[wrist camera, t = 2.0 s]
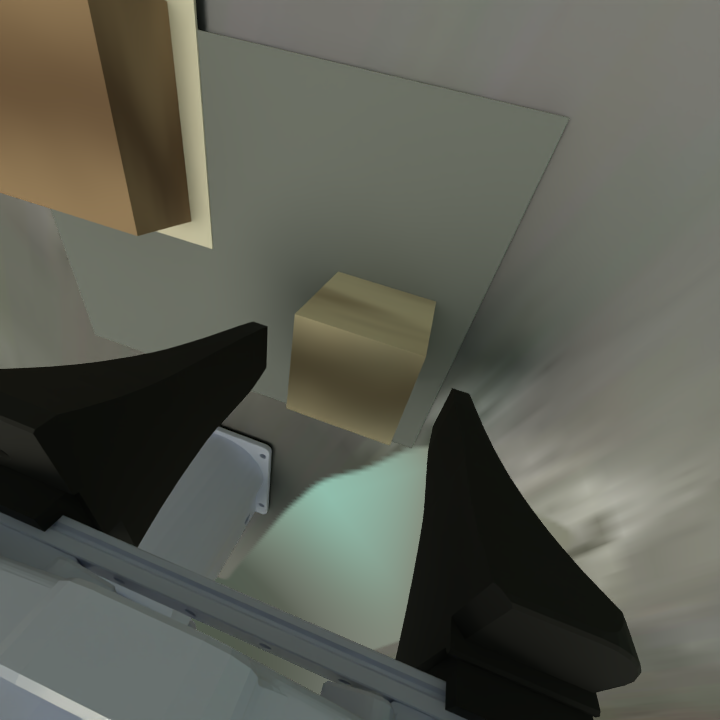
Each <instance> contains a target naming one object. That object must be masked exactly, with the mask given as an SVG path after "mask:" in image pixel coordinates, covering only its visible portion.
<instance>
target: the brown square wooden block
mask: <svg viewBox="0 0 720 720" xmlns="http://www.w3.org/2000/svg"><path fill="white" fill-rule="evenodd" d="M0 193H3V194H6V195H10V196H13V197H16V198H19V199H22V200H25V201H28V202H32V203H35V204H38V205H41V206H44V207H47V208H51V209H54V210H57V211H60V212H63V213H66V214H69V215H73V216H76V217H79V218H82V219H85V220H88V221H92V222H95V223H98V224H101V225H104V226H107V227H110V228H114V229H117V230H120V231H123V232H126V233H129V234H133V235H136V236H140V235H144V234H147V233H151V232H155V231H158V230H162V229H166V228H169V227H173V226H177V225H181V224H184V223H188V222H191V213H190V204H189V195H188V186H187V177H186V168H185V159H184V150H183V141H182V132H181V123H180V113H179V104H178V95H177V86H176V77H175V68H174V59H173V50H172V41H171V32H170V23H169V14H168V5H167V1H165V0H0Z"/></svg>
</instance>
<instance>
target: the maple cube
mask: <svg viewBox="0 0 720 720" xmlns="http://www.w3.org/2000/svg"><path fill="white" fill-rule="evenodd" d="M435 305H436V301H432V300H429V299H426V298H423V297H419V296H416V295H413V294H410V293H406V292H403V291H400V290H397V289H393V288H390V287H387V286H384V285H380V284H377V283H374V282H371V281H367V280H364V279H361V278H358V277H354V276H351V275H348V274H345V273H341V272H337V273H336V274H335V275H334V276H333V277H332V278H331V279H330V280H329V281H328V282H327V283H326V284H325V285H324V286H323V287H322V288H321V289H320V290H319V291H318V292H317V293H316V294H315V295H314V296H313V297H312V298H311V299H310V300H309V301H308V302H307V303H306V304H305V305H304V306H302V307H301V308H300V309H299V310H298V311H297V312H296V313H295V317H294V328H293V339H292V350H291V361H290V373H289V384H288V395H287V406H286V408H287V409H290V410H293V411H295V412H298V413H301V414H304V415H306V416H309V417H312V418H315V419H318V420H320V421H323V422H326V423H329V424H331V425H334V426H337V427H340V428H343V429H345V430H348V431H351V432H354V433H356V434H359V435H362V436H365V437H368V438H370V439H373V440H376V441H379V442H381V443H384V444H387V445H390V444H391V441H392V439H393V436H394V434H395V431H396V429H397V426H398V424H399V422H400V419H401V417H402V414H403V412H404V409H405V407H406V404H407V402H408V400H409V397H410V395H411V392H412V390H413V387H414V385H415V382H416V380H417V378H418V375H419V373H420V370H421V368H422V365H423V363H424V360H425V358H426V354H427V348H428V343H429V338H430V332H431V327H432V321H433V316H434V311H435Z"/></svg>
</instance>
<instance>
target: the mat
mask: <svg viewBox="0 0 720 720" xmlns="http://www.w3.org/2000/svg"><path fill="white" fill-rule="evenodd" d="M165 1H167V5H168V14H169V23H170V32H171V41H172V50H173V59H174V68H175V77H176V86H177V95H178V104H179V113H180V123H181V132H182V141H183V150H184V159H185V168H186V177H187V186H188V195H189V204H190V213H191V222H188V223H184V224H181V225H177V226H173V227H169V228H166V229H162V230H158V231H155V232H151V233H147V234H144V235H140V236H136V235H133V234H129V233H126V232H123V231H120V230H117V229H114V228H110V227H107V226H104V225H101V224H98V223H95V222H92V221H88V220H85V219H82V218H79V217H76V216H73V215H69V214H66V213H63V212H60V211H57V210H54V209H51V208H50V209H51V212H52V215H53V218H54V221H55V223H56V226H57V229H58V232H59V235H60V238H61V240H62V243H63V246H64V249H65V252H66V255H67V257H68V260H69V263H70V266H71V269H72V271H73V274H74V277H75V280H76V283H77V286H78V288H79V291H80V294H81V297H82V300H83V302H84V305H85V308H86V311H87V314H88V317H89V319H90V322H91V325H92V328H93V331H94V333H95V335H97V336H99V337H102V338H105V339H108V340H111V341H113V342H116V343H119V344H122V345H125V346H127V347H130V348H133V349H136V350H139V351H141V352H144V353H151V352H156V351H160V350H164V349H168V348H172V347H175V346H179V345H182V344H185V343H189V342H192V341H195V340H199V339H202V338H205V337H208V336H211V335H214V334H217V333H220V332H222V331H225V330H228V329H231V328H234V327H237V326H240V325H243V324H246V323H249V322H256V323H259V324H262V325H265V326H268V334H267V368H266V369H265V371H264V372H263V374H262V376H261V377H260V379H259V380H258V382H257V383H256V384H255V386H254V387H253V389H252V390H251V391H253V392H256V393H259V394H261V395H264V396H267V397H270V398H272V399H275V400H278V401H281V402H284V403H286V404H287V395H288V384H289V373H290V361H291V350H292V339H293V328H294V317H295V313H296V312H297V311H298V310H299V309H300V308H301V307H302V306H304V305H305V304H306V303H307V302H308V301H309V300H310V299H311V298H312V297H313V296H314V295H315V294H316V293H317V292H318V291H319V290H320V289H321V288H322V287H323V286H324V285H325V284H326V283H327V282H328V281H329V280H330V279H331V278H332V277H333V276H334V275H335V274H336V273H337V272H341V273H345V274H348V275H351V276H354V277H358V278H361V279H364V280H367V281H371V282H374V283H377V284H380V285H384V286H387V287H390V288H393V289H397V290H400V291H403V292H406V293H410V294H413V295H416V296H419V297H423V298H426V299H429V300H432V301H436V305H435V311H434V316H433V321H432V327H431V332H430V338H429V343H428V348H427V354H426V358H425V360H424V363H423V365H422V368H421V370H420V373H419V375H418V378H417V380H416V382H415V385H414V387H413V390H412V392H411V395H410V397H409V400H408V402H407V404H406V407H405V409H404V412H403V414H402V417H401V419H400V422H399V424H398V426H397V429H396V431H395V434H394V436H393V439H392V442H395V443H398V444H401V445H404V446H406V447H409V448H412V447H413V445H414V442H415V440H416V438H417V436H418V434H419V432H420V430H421V428H422V426H423V424H424V422H425V419H426V417H427V415H428V413H429V411H430V409H431V407H432V405H433V403H434V401H435V399H436V397H437V394H438V392H439V390H440V388H441V386H442V384H443V382H444V380H445V378H446V376H447V374H448V371H449V369H450V367H451V365H452V363H453V361H454V359H455V357H456V355H457V353H458V351H459V348H460V346H461V344H462V342H463V340H464V338H465V336H466V334H467V332H468V330H469V328H470V325H471V323H472V321H473V319H474V317H475V315H476V313H477V311H478V309H479V307H480V305H481V302H482V300H483V298H484V296H485V294H486V292H487V290H488V288H489V286H490V284H491V282H492V279H493V277H494V275H495V273H496V271H497V269H498V267H499V265H500V263H501V261H502V259H503V256H504V254H505V252H506V250H507V248H508V246H509V244H510V242H511V240H512V238H513V236H514V234H515V231H516V229H517V227H518V225H519V223H520V221H521V219H522V217H523V215H524V213H525V211H526V208H527V206H528V204H529V202H530V200H531V198H532V196H533V194H534V192H535V190H536V188H537V185H538V183H539V181H540V179H541V177H542V175H543V173H544V171H545V169H546V167H547V165H548V162H549V160H550V158H551V156H552V154H553V152H554V150H555V148H556V146H557V144H558V142H559V139H560V137H561V135H562V133H563V131H564V129H565V127H566V125H567V123H568V121H569V119H570V118H568V117H564V116H560V115H555V114H551V113H547V112H543V111H538V110H534V109H530V108H526V107H522V106H517V105H513V104H509V103H505V102H500V101H496V100H492V99H488V98H484V97H479V96H475V95H471V94H467V93H462V92H458V91H454V90H450V89H446V88H441V87H437V86H433V85H429V84H424V83H420V82H416V81H412V80H408V79H403V78H399V77H395V76H391V75H387V74H382V73H378V72H374V71H370V70H365V69H361V68H357V67H353V66H349V65H344V64H340V63H336V62H332V61H327V60H323V59H319V58H315V57H311V56H306V55H302V54H298V53H294V52H289V51H285V50H281V49H277V48H273V47H268V46H264V45H260V44H256V43H252V42H247V41H243V40H239V39H235V38H230V37H226V36H222V35H218V34H214V33H209V32H205V31H201V30H198V27H197V13H196V0H165Z"/></svg>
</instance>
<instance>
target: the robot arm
mask: <svg viewBox="0 0 720 720" xmlns="http://www.w3.org/2000/svg"><path fill="white" fill-rule="evenodd" d="M267 334H268V326H265V325H262V324H259V323H256V322H249V323H246V324H243V325H240V326H237V327H234V328H231V329H228V330H225V331H222V332H220V333H217V334H214V335H211V336H208V337H205V338H202V339H199V340H195V341H192V342H189V343H185V344H182V345H179V346H175V347H172V348H168V349H164V350H160V351H156V352H151V353H147V354H142V355H137V356H132V357H126V358H120V359H114V360H107V361H101V362H94V363H85V364H76V365H65V366H53V367H36V368H14V369H0V720H593V716H594V717H600V707H599V703H598V699H597V695H596V692H600V691H604V690H608V689H612V688H616V687H620V686H624V685H627V684H629V683H632V682H634V681H635V680H636V678H637V677H638V676H639V675H640V673H641V665H640V662H639V659H638V656H637V653H636V650H635V647H634V644H633V641H632V638H631V635H630V632H629V629H628V626H627V623H626V621H625V618H624V616H623V613H622V612H621V610H620V609H619V608H618V607H617V606H616V605H615V604H614V603H613V602H612V601H611V600H610V599H609V598H608V597H607V596H606V595H605V594H604V593H603V592H602V591H601V590H600V589H599V588H598V586H597V585H596V584H595V583H594V582H593V581H592V580H591V579H590V578H589V577H588V576H587V575H586V574H585V573H584V572H583V571H582V570H581V569H580V567H579V566H578V565H577V564H576V563H575V562H574V561H573V559H572V558H571V557H570V556H569V555H568V554H567V552H566V551H565V550H564V549H563V548H562V547H561V546H560V545H559V543H558V542H557V541H556V540H555V538H554V537H553V536H552V535H551V533H550V532H549V531H548V530H547V528H546V527H545V526H544V525H543V523H542V522H541V521H540V519H539V518H538V517H537V515H536V514H535V513H534V511H533V510H532V509H531V507H530V506H529V505H528V503H527V502H526V500H525V499H524V498H523V496H522V495H521V493H520V492H519V490H518V488H517V487H516V485H515V484H514V482H513V481H512V479H511V478H510V476H509V475H508V473H507V471H506V470H505V468H504V466H503V464H502V463H501V461H500V459H499V457H498V455H497V454H496V452H495V450H494V448H493V446H492V444H491V442H490V440H489V438H488V435H487V433H486V431H485V429H484V427H483V425H482V422H481V420H480V418H479V416H478V413H477V411H476V409H475V406H474V404H473V401H472V399H471V397H470V395H469V394H468V393H465V392H462V391H459V390H456V389H453V388H452V390H451V392H450V394H449V396H448V398H447V400H446V402H445V404H444V406H443V408H442V410H441V412H440V414H439V416H438V417H437V419H436V421H435V423H434V425H433V429H432V434H431V438H430V444H429V449H428V460H427V474H426V490H425V504H424V515H423V523H422V529H421V535H420V541H419V546H418V553H417V557H416V563H415V568H414V574H413V579H412V584H411V589H410V594H409V599H408V604H407V609H406V614H405V618H404V623H403V628H402V632H401V637H400V641H399V646H398V651H397V655H396V659H393V658H390V657H388V656H386V655H384V654H381V653H379V652H377V651H374V650H372V649H370V648H367V647H365V646H363V645H360V644H358V643H356V642H354V641H351V640H349V639H347V638H344V637H342V636H340V635H337V634H335V633H333V632H331V631H328V630H326V629H324V628H321V627H319V626H317V625H314V624H312V623H310V622H307V621H305V620H303V619H301V618H298V617H296V616H294V615H292V614H289V613H287V612H285V611H282V610H280V609H278V608H275V607H273V606H271V605H268V604H266V603H264V602H261V601H259V600H257V599H255V598H252V597H250V596H248V595H245V594H243V593H241V592H238V591H236V590H234V589H232V588H229V587H227V586H225V585H222V584H220V583H218V582H216V581H215V579H216V578H217V576H218V575H219V573H220V572H221V570H222V568H223V566H224V565H225V563H226V561H227V559H228V558H229V556H230V554H231V552H232V551H233V549H234V547H235V545H236V544H237V542H238V540H239V539H240V537H241V535H242V533H243V532H244V530H245V528H246V526H247V525H248V523H249V521H250V519H251V518H252V516H253V514H254V513H255V511H256V512H258V513H261V514H266V513H267V511H268V507H269V490H270V472H271V455H272V450H271V448H270V447H269V446H268V445H266V444H264V443H261V442H259V441H256V440H253V439H251V438H248V437H245V436H243V435H240V434H237V433H235V432H232V431H229V430H227V429H224V428H221V427H219V426H220V424H221V423H222V422H223V421H224V420H225V419H226V418H227V417H228V416H229V414H230V413H231V412H232V411H233V410H234V409H235V408H236V407H237V406H238V404H239V403H240V402H241V401H242V400H243V399H244V398H245V397H246V395H247V394H248V393H249V392H250V391H251V390H252V389H253V387H254V386H255V384H256V383H257V382H258V380H259V379H260V377H261V376H262V374H263V372H264V371H265V369H266V368H267ZM192 618H194V619H196V620H198V621H200V622H202V623H205V624H207V625H209V626H211V627H213V628H216V629H218V630H220V631H223V632H225V633H227V634H229V635H231V636H233V637H236V638H238V639H240V640H242V641H244V642H247V643H249V644H251V645H253V646H256V647H258V648H260V649H262V650H265V651H267V652H269V653H271V654H274V655H275V656H278V657H280V658H282V659H284V660H287V661H289V662H291V663H293V664H295V665H298V666H300V667H302V668H304V669H306V670H309V671H311V672H313V673H315V674H318V675H320V676H322V677H324V678H327V679H329V680H331V681H333V682H331V681H327V682H325V683H324V684H323V687H322V691H321V695H319V694H317V693H315V692H313V691H311V690H309V689H308V688H306V687H304V686H302V685H300V684H298V683H296V682H295V681H293V680H291V679H289V678H287V677H285V676H284V675H282V674H280V673H278V672H276V671H274V670H273V669H271V668H269V667H267V666H265V665H263V664H262V663H260V662H258V661H256V660H254V659H252V658H250V657H248V656H246V655H244V654H242V653H241V652H239V651H237V650H235V649H233V648H232V647H230V646H228V645H226V644H224V643H222V642H220V641H218V640H216V639H215V638H213V637H211V636H209V635H207V634H204V633H202V632H200V631H198V630H196V625H195V623H194V622H193V621H192V620H191V619H192Z"/></svg>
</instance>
